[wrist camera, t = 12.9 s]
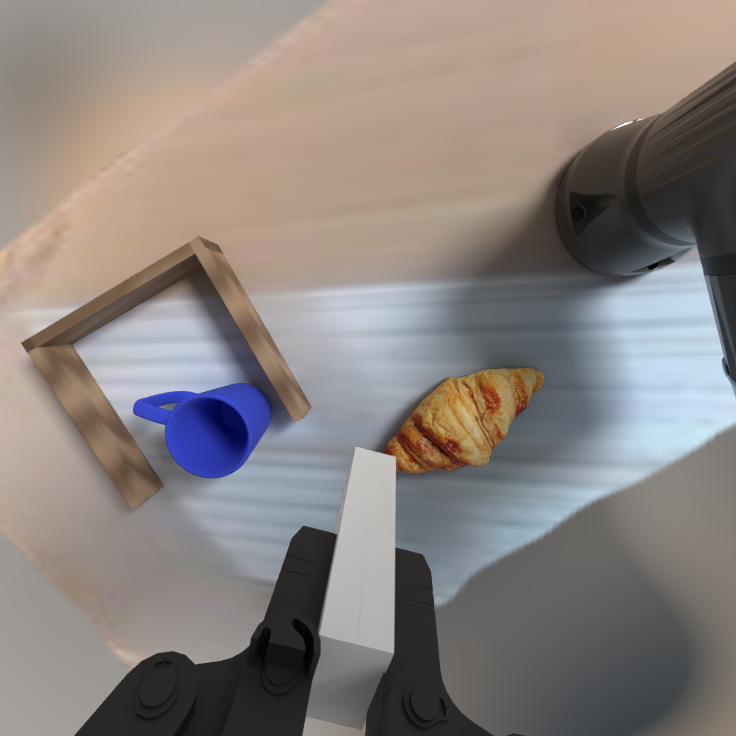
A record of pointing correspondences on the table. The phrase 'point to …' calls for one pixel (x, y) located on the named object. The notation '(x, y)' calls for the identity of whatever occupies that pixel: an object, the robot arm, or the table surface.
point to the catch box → (56, 340)
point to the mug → (210, 426)
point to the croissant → (463, 420)
